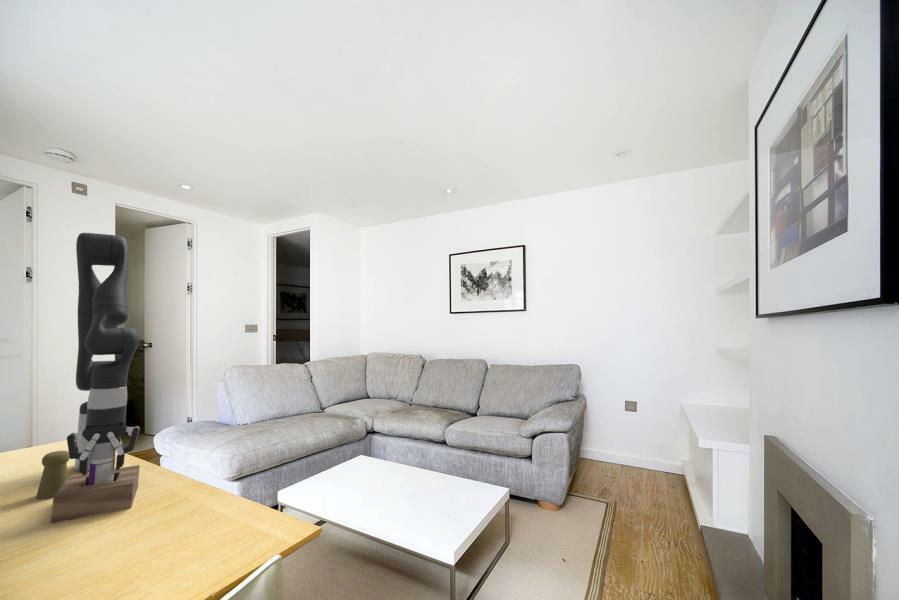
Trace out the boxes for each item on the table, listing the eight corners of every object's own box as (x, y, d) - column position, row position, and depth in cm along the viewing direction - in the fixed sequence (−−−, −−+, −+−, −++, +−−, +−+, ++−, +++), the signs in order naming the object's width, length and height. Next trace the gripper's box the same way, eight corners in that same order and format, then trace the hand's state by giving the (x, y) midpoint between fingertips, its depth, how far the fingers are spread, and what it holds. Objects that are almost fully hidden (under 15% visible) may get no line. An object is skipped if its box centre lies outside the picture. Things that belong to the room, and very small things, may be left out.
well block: (67, 499, 96) (69, 475, 96) (137, 486, 103) (139, 465, 104) (50, 523, 84) (53, 496, 84) (131, 507, 92) (133, 482, 92)
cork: (32, 496, 97) (36, 453, 98) (64, 487, 102) (67, 446, 103) (40, 501, 94) (44, 457, 95) (72, 492, 99) (76, 450, 100)
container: (85, 501, 94) (91, 441, 95) (110, 495, 97) (115, 437, 98) (86, 507, 91) (92, 445, 92) (112, 501, 94) (117, 441, 95)
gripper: (144, 399, 103) (139, 461, 102) (72, 404, 95) (66, 472, 93) (141, 404, 97) (136, 470, 95) (64, 410, 88) (57, 483, 87)
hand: (101, 471), depth 94 cm, fingers open, 5 cm apart
